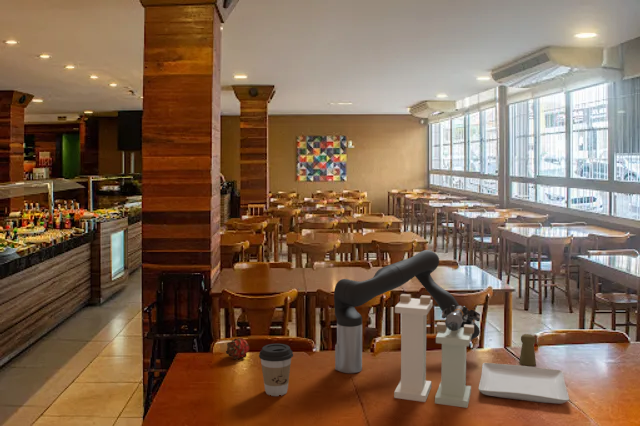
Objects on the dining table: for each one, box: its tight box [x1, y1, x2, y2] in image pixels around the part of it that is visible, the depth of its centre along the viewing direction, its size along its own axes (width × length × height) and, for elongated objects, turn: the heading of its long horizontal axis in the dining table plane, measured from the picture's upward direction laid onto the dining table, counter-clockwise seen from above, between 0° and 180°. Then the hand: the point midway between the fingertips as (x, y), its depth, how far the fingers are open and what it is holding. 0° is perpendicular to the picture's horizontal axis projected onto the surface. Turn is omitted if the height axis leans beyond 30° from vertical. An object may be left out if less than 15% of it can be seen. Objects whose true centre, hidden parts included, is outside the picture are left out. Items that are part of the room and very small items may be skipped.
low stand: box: [434, 321, 474, 409], centre depth 182 cm, size 12×13×24 cm
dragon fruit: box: [225, 337, 250, 360], centre depth 221 cm, size 8×8×12 cm
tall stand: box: [393, 293, 434, 403], centre depth 185 cm, size 10×13×32 cm
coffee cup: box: [258, 343, 294, 397], centre depth 187 cm, size 11×11×15 cm
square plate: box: [478, 362, 570, 405], centre depth 190 cm, size 27×27×4 cm
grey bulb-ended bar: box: [444, 305, 463, 331], centre depth 186 cm, size 20×5×5 cm, turn 161°
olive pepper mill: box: [518, 333, 537, 367], centre depth 213 cm, size 6×6×11 cm
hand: (458, 308), depth 192 cm, fingers closed on grey bulb-ended bar, 3 cm apart
